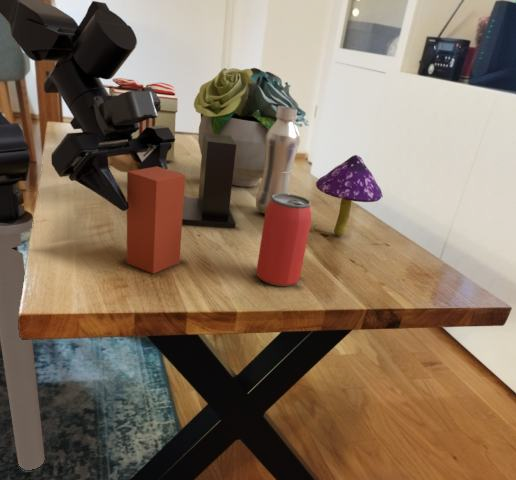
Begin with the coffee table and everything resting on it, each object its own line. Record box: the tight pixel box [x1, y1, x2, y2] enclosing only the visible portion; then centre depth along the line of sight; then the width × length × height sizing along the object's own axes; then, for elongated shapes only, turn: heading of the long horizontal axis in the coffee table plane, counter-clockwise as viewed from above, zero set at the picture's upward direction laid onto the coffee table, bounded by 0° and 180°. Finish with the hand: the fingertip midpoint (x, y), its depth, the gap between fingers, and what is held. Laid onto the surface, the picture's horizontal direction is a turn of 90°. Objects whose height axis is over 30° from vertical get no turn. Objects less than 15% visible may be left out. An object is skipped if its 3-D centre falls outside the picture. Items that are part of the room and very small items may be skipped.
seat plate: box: [182, 133, 237, 229], centre depth 93 cm, size 18×14×14 cm
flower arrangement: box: [193, 67, 310, 188], centre depth 115 cm, size 25×25×24 cm
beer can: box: [255, 193, 312, 287], centre depth 73 cm, size 7×7×12 cm
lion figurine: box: [108, 154, 139, 173], centre depth 104 cm, size 15×5×9 cm, turn 103°
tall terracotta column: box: [126, 166, 186, 275], centre depth 71 cm, size 5×6×13 cm
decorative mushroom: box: [315, 154, 384, 237], centre depth 94 cm, size 12×12×15 cm
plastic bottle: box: [255, 106, 301, 215], centre depth 98 cm, size 6×7×20 cm
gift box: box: [103, 77, 179, 162], centre depth 129 cm, size 17×18×17 cm
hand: (149, 203), depth 71 cm, fingers open, 9 cm apart
